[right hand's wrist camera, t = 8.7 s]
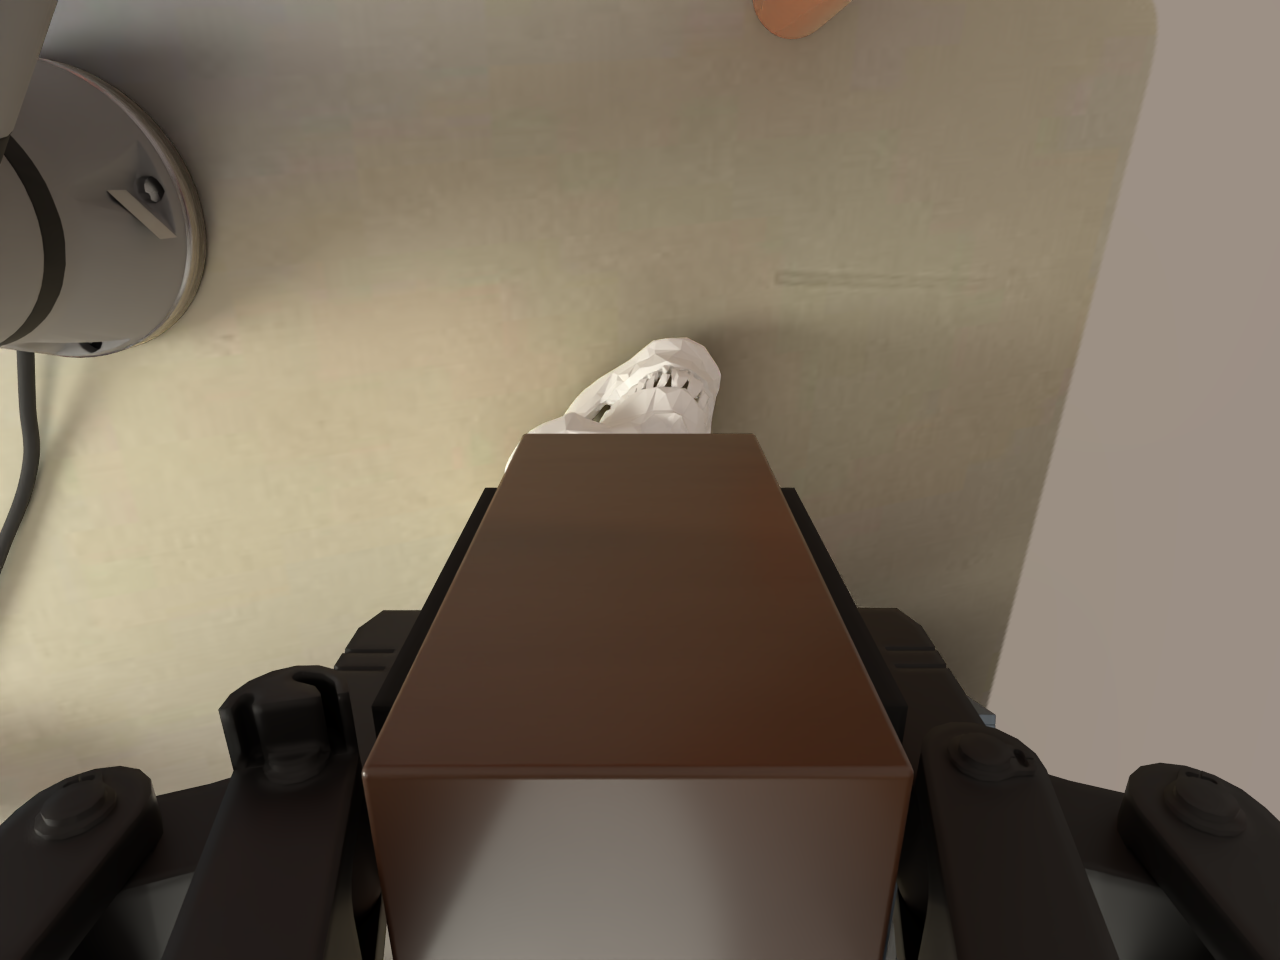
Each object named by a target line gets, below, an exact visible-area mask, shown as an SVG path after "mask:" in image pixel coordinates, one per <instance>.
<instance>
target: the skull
mask: <svg viewBox="0 0 1280 960" xmlns="http://www.w3.org/2000/svg"><path fill="white" fill-rule="evenodd" d="M670 375H672V381H671V387H665V385H666V383H667V381H668V379H669V377H670ZM660 377H661V378H660ZM657 378H660V380H659V382H658V384H657V387H654V388H653V385H654V382H655V381H657ZM687 380H688V383H689V384H688V387H687V389H686V388H682V387H683V386H684V384H685V383H686V382H687ZM720 380H721V373H720V371H719V368H718V366H717V364H716V363H715V361H714V360H713V358H712V357H711V355H710V354H709V352H708V351H707V349H706V348H705V346H703V345H701V344H699V343H697V342H695V341H693V340H691V339H689V338H687V337H679V338H664V339H657V340H653V341H652V342H650V343H649V344H648V345H647V346H646V347H644V348H643V349H642V350H641V351H640V352H638V353H637V354H636V355H635V356H634V357H632V358H631V359H630V360H628V361H627V362H625V363H623V364H622V365H620V366H618V367H617V368H615V369H613V370H612V371H610V372H608V373H607V374H605V375H603V376H602V377H600V378H599V379H597V380H596V381H595V382H594V383H592V384H591V385H590V386H588V387H587V388H586V389H584V390H583V391H582V392H581V393H580V394H579V395H578V397H577V398H576V399H575V400H574V401H573V403H572V404H571V405H570V407H569V408H568V410H567V411H566V413H565V414H564V416H561V417H559V418H556V419H553V420H550V421H547V422H544V423H542V424H540V425H539V426H537V427H535V428H533V429H532V430H530V431H529V432H528V433H527V434H711V422H712V415H713V410H714V406H715V401H716V396H717V394H718V391H719V387H720ZM694 398H695V400H694ZM605 405H610V406H611V409H609V410H607V411H606V412H605V413H604V415H603V417H602V418H601V420H600V422H596V421H593V418H594V417H595V416H596V415H597V414H598V413H599V412H600V410H601V409H602V408H603V407H604V406H605ZM518 445H519V443H518ZM518 445H517V446H516V448H515V449H514V451H513V453H512V454H511V456H510V457H509V459H508V462H507V465H506V468H505V472H506V469H507V467H508V465H509V463H510V461H511V459H512V457H513V455H514V453H515V451H516V449H517V447H518Z"/></svg>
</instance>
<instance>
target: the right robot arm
mask: <svg viewBox="0 0 1280 960" xmlns="http://www.w3.org/2000/svg"><path fill="white" fill-rule="evenodd" d="M57 2H58V0H0V348H4V349H11V350H17V370H18V394H19V411H20V420H21V427H22V434H23V446H24V453H23V463H22V470H21V475H20V479H19V484H18V487H17V491H16V494H15V497H14V500H13V503H12V506H11V508H10V511H9V513H8V516H7V518H6V521H5V523H4V526H3V528H2V530H1V533H0V573H1V571H2V568H3V565H4V563H5V560H6V557H7V555H8V552H9V549H10V547H11V544H12V542H13V540H14V537H15V535H16V532H17V530H18V528H19V525H20V523H21V521H22V518H23V516H24V513H25V511H26V508H27V506H28V503H29V500H30V497H31V494H32V491H33V487H34V484H35V480H36V475H37V470H38V464H39V456H40V440H39V430H38V422H37V412H36V390H35V355H34V353H42V354H50V355H56V356H63V357H77V358H83V357H96V356H103V355H108V354H112V353H115V352H119V351H122V350H125V349H128V348H131V347H134V346H137V345H140V344H143V343H145V342H148V341H150V340H152V339H154V338H155V337H157V336H159V335H161V334H162V333H163V332H165V331H166V330H168V329H169V328H170V327H171V326H172V325H173V324H175V323H176V322H177V321H178V320H179V318H180V317H181V316H182V315H183V314H184V313H185V311H186V310H187V308H188V307H189V305H190V304H191V302H192V300H193V298H194V296H195V294H196V292H197V290H198V287H199V284H200V282H201V278H202V274H203V270H204V264H205V257H206V231H205V223H204V217H203V212H202V208H201V204H200V200H199V197H198V194H197V191H196V188H195V185H194V183H193V181H192V178H191V176H190V174H189V171H188V170H187V168H186V166H185V164H184V162H183V160H182V158H181V157H180V155H179V153H178V152H177V150H176V149H175V147H174V146H173V144H172V143H171V141H170V140H169V139H168V137H167V136H166V135H165V133H164V132H163V131H162V129H161V128H160V127H159V126H158V125H157V124H156V123H155V122H154V121H153V119H152V118H151V117H150V116H149V115H148V114H147V113H146V112H145V111H144V110H143V109H142V108H140V107H139V106H138V105H137V104H136V103H135V102H134V101H132V100H131V99H130V98H129V97H127V96H126V95H125V94H124V93H122V92H121V91H119V90H118V89H116V88H115V87H114V86H112V85H110V84H109V83H107V82H105V81H104V80H102V79H100V78H98V77H97V76H94V75H92V74H90V73H88V72H86V71H84V70H82V69H79V68H76V67H74V66H71V65H68V64H65V63H61V62H57V61H53V60H49V59H44V58H40V57H39V54H40V51H41V48H42V45H43V42H44V40H45V37H46V34H47V31H48V28H49V25H50V22H51V19H52V16H53V13H54V10H55V8H56V5H57ZM780 489H781V491H782V493H783V495H784V497H785V499H786V501H787V504H788V506H789V508H790V510H791V512H792V514H793V516H794V518H795V521H796V523H797V525H798V527H799V529H800V531H801V533H802V535H803V537H804V540H805V542H806V544H807V546H808V548H809V550H810V552H811V554H812V556H813V559H814V561H815V563H816V565H817V567H818V569H819V571H820V573H821V575H822V578H823V580H824V582H825V584H826V586H827V588H828V590H829V592H830V594H831V597H832V599H833V601H834V603H835V605H836V607H837V609H838V611H839V613H840V616H841V618H842V620H843V622H844V624H845V626H846V628H847V630H848V632H849V635H850V637H851V639H852V641H853V643H854V645H855V647H856V649H857V651H858V654H859V656H860V658H861V660H862V662H863V664H864V666H865V668H866V670H867V673H868V675H869V677H870V679H871V681H872V683H873V685H874V687H875V689H876V692H877V694H878V696H879V698H880V700H881V702H882V704H883V706H884V708H885V711H886V713H887V715H888V717H889V719H890V721H891V723H892V725H893V727H894V730H895V732H896V734H897V736H898V738H899V740H900V742H901V744H902V746H903V749H904V751H905V753H906V755H907V757H908V759H909V761H910V763H911V765H912V768H913V771H914V777H913V784H912V789H911V795H910V801H909V807H908V813H907V819H906V825H905V831H904V837H903V843H902V849H901V855H900V861H899V866H898V872H897V878H896V882H897V885H898V888H897V893H896V899H895V905H894V911H893V917H892V923H891V929H890V934H889V940H888V946H887V953H886V960H896V955H897V960H1280V821H1279V820H1278V819H1277V818H1276V817H1275V816H1274V815H1272V814H1271V813H1270V812H1269V811H1268V810H1267V809H1266V808H1265V807H1264V806H1263V805H1261V804H1260V803H1259V802H1257V801H1256V800H1255V799H1254V798H1252V797H1251V796H1250V795H1248V794H1247V793H1246V792H1245V791H1243V790H1242V789H1240V788H1238V787H1236V786H1234V785H1232V784H1230V783H1228V782H1227V781H1225V780H1223V779H1221V778H1219V777H1217V776H1215V775H1212V774H1209V773H1207V772H1204V771H1200V770H1198V769H1194V768H1191V767H1188V766H1183V765H1175V764H1166V763H1156V764H1151V765H1145V766H1140V767H1139V768H1138V769H1137V770H1136V771H1135V772H1134V773H1132V774H1131V775H1130V777H1129V780H1128V783H1127V786H1126V790H1125V793H1122V792H1117V791H1112V790H1108V789H1104V788H1099V787H1095V786H1091V785H1086V784H1082V783H1077V782H1073V781H1069V780H1065V779H1062V778H1059V777H1055V776H1052V775H1049V774H1048V773H1047V770H1046V768H1045V767H1044V765H1043V764H1042V762H1041V761H1040V759H1039V758H1038V756H1037V755H1036V753H1034V752H1033V751H1032V750H1031V749H1029V748H1028V747H1027V746H1026V745H1024V744H1023V743H1022V742H1021V741H1019V740H1018V739H1017V738H1014V737H1012V736H1010V735H1008V734H1006V733H1004V732H1002V731H1000V730H998V729H996V728H992V727H988V726H986V725H985V723H984V722H983V720H982V719H981V717H980V716H979V714H978V713H977V711H976V710H975V708H974V706H973V705H972V703H971V702H970V700H969V699H968V697H967V696H966V694H965V693H964V691H963V689H962V688H961V686H960V685H959V683H958V682H957V680H956V679H955V677H954V676H953V674H952V672H951V671H950V669H949V668H946V663H945V662H944V660H943V659H942V657H941V656H940V654H939V652H938V651H935V646H934V645H933V643H932V642H931V640H930V639H929V637H928V635H927V634H926V632H925V631H924V629H923V628H922V626H921V625H919V624H918V623H917V622H915V621H914V620H912V619H911V618H910V617H908V616H907V615H905V614H904V613H903V612H901V611H900V610H899V609H897V608H857V607H856V605H855V603H854V601H853V599H852V597H851V596H850V594H849V592H848V590H847V588H846V586H845V584H844V582H843V580H842V578H841V576H840V574H839V573H838V571H837V569H836V567H835V565H834V563H833V561H832V559H831V557H830V555H829V553H828V551H827V549H826V548H825V546H824V544H823V542H822V540H821V538H820V536H819V534H818V532H817V530H816V528H815V526H814V525H813V523H812V521H811V519H810V517H809V515H808V513H807V511H806V509H805V507H804V505H803V503H802V502H801V500H800V498H799V496H798V494H797V492H796V490H795V488H780ZM496 490H497V488H485V489H484V491H483V493H482V495H481V497H480V499H479V501H478V503H477V504H476V506H475V508H474V510H473V512H472V514H471V516H470V518H469V520H468V522H467V524H466V526H465V527H464V529H463V531H462V533H461V535H460V537H459V539H458V541H457V543H456V545H455V547H454V549H453V550H452V552H451V554H450V556H449V558H448V560H447V562H446V564H445V566H444V568H443V570H442V572H441V573H440V575H439V577H438V579H437V581H436V583H435V585H434V587H433V589H432V591H431V593H430V595H429V596H428V598H427V600H426V602H425V604H424V606H423V608H422V610H383V611H382V612H380V613H379V614H378V615H376V616H375V617H373V618H372V619H371V620H369V621H368V622H367V623H365V624H364V625H362V626H361V627H360V628H358V630H357V632H356V633H355V635H354V636H353V638H352V639H351V641H350V642H349V644H348V645H347V647H346V649H345V653H342V655H341V656H340V658H339V659H338V661H337V663H336V664H335V666H334V669H331V668H327V667H323V666H319V665H311V666H293V667H289V668H284V669H280V670H275V671H272V672H269V673H267V674H265V675H262V676H260V677H258V678H255V679H253V680H251V681H249V682H247V683H246V684H244V685H243V686H241V687H240V688H239V689H237V690H236V691H234V692H233V693H232V694H230V695H229V697H228V698H227V699H226V701H225V702H224V703H223V704H222V706H221V707H220V708H219V714H220V718H221V722H222V726H223V730H224V734H225V738H226V742H227V746H228V750H229V754H230V758H231V762H232V766H233V770H234V771H233V774H232V776H231V778H228V779H225V780H221V781H218V782H215V783H211V784H207V785H203V786H199V787H194V788H190V789H185V790H181V791H176V792H172V793H168V794H163V795H159V796H156V795H155V792H154V788H153V785H152V782H151V779H150V778H149V777H148V776H147V775H145V774H144V773H143V772H142V771H141V770H140V769H134V768H129V767H123V766H116V767H108V768H99V769H93V770H90V771H87V772H84V773H81V774H77V775H75V776H72V777H69V778H66V779H64V780H62V781H60V782H58V783H56V784H55V785H53V786H51V787H49V788H47V789H45V790H43V791H41V792H39V793H38V794H36V795H35V796H34V797H33V798H31V799H30V800H29V801H27V802H26V803H25V804H24V805H22V806H21V807H20V808H18V809H17V810H16V811H15V812H14V813H13V814H12V815H11V816H10V817H9V818H8V819H7V820H5V821H4V822H3V823H2V824H1V825H0V960H383V956H384V946H385V935H386V925H387V920H386V915H385V909H384V903H383V897H382V891H381V886H380V880H379V874H378V868H377V862H376V856H375V851H374V845H373V839H372V833H371V827H370V822H369V816H368V810H367V804H366V798H365V792H364V787H363V781H362V769H363V767H364V764H365V762H366V760H367V758H368V756H369V754H370V752H371V750H372V748H373V746H374V744H375V742H376V739H377V737H378V735H379V733H380V731H381V729H382V727H383V725H384V723H385V721H386V719H387V717H388V715H389V712H390V710H391V708H392V706H393V704H394V702H395V700H396V698H397V696H398V694H399V692H400V690H401V688H402V685H403V683H404V681H405V679H406V677H407V675H408V673H409V671H410V669H411V667H412V665H413V663H414V661H415V658H416V656H417V654H418V652H419V650H420V648H421V646H422V644H423V642H424V640H425V638H426V636H427V634H428V631H429V629H430V627H431V625H432V623H433V621H434V619H435V617H436V615H437V613H438V611H439V609H440V607H441V604H442V602H443V600H444V598H445V596H446V594H447V592H448V590H449V588H450V586H451V584H452V582H453V580H454V577H455V575H456V573H457V571H458V569H459V567H460V565H461V563H462V561H463V559H464V557H465V555H466V553H467V550H468V548H469V546H470V544H471V542H472V540H473V538H474V536H475V534H476V532H477V530H478V528H479V526H480V523H481V521H482V519H483V517H484V515H485V513H486V511H487V509H488V507H489V505H490V503H491V501H492V499H493V496H494V494H495V492H496Z"/></svg>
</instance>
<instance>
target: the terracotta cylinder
mask: <svg viewBox="0 0 1280 960" xmlns="http://www.w3.org/2000/svg"><path fill="white" fill-rule="evenodd" d="M851 1H853V0H753V5H754V9H755V12H756V14H757V16H758V18H759V20H760V21H761V23H762V24H763V25H764V26H765V28H767V29H768V30H769V31H770V32H772V33H773V34H775V35H777V36H779V37H782V38H787V39H798V38H802V37H805V36H808V35H810V34H812V33H814V32H815V31H817V30H818V29H819V28H820V27H821V26H823V25H824V24H825V23H826V22H827V21H829V20H830V19H831V18H832V17H833V16H835V15H836V14H837V13H838V12H839V11H841V10H842V9H843V8H844V7H845V6H847V5H848V4H849V3H850V2H851Z"/></svg>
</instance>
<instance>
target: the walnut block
mask: <svg viewBox="0 0 1280 960" xmlns="http://www.w3.org/2000/svg"><path fill="white" fill-rule="evenodd" d="M913 777H914V771H913V768H912V765H911V763H910V761H909V759H908V757H907V755H906V753H905V751H904V749H903V746H902V744H901V742H900V740H899V738H898V736H897V734H896V732H895V730H894V727H893V725H892V723H891V721H890V719H889V717H888V715H887V713H886V711H885V708H884V706H883V704H882V702H881V700H880V698H879V696H878V694H877V692H876V689H875V687H874V685H873V683H872V681H871V679H870V677H869V675H868V673H867V670H866V668H865V666H864V664H863V662H862V660H861V658H860V656H859V654H858V651H857V649H856V647H855V645H854V643H853V641H852V639H851V637H850V635H849V632H848V630H847V628H846V626H845V624H844V622H843V620H842V618H841V616H840V613H839V611H838V609H837V607H836V605H835V603H834V601H833V599H832V597H831V594H830V592H829V590H828V588H827V586H826V584H825V582H824V580H823V578H822V575H821V573H820V571H819V569H818V567H817V565H816V563H815V561H814V559H813V556H812V554H811V552H810V550H809V548H808V546H807V544H806V542H805V540H804V537H803V535H802V533H801V531H800V529H799V527H798V525H797V523H796V521H795V518H794V516H793V514H792V512H791V510H790V508H789V506H788V504H787V501H786V499H785V497H784V495H783V493H782V491H781V489H780V487H779V485H778V482H777V480H776V478H775V476H774V474H773V472H772V470H771V468H770V466H769V463H768V461H767V459H766V457H765V455H764V453H763V451H762V449H761V447H760V444H759V442H758V440H757V438H756V436H755V435H754V434H524V435H523V436H522V438H521V440H520V442H519V445H518V447H517V449H516V451H515V453H514V455H513V457H512V459H511V461H510V463H509V465H508V467H507V469H506V472H505V474H504V476H503V478H502V480H501V482H500V484H499V486H498V488H497V490H496V492H495V494H494V496H493V499H492V501H491V503H490V505H489V507H488V509H487V511H486V513H485V515H484V517H483V519H482V521H481V523H480V526H479V528H478V530H477V532H476V534H475V536H474V538H473V540H472V542H471V544H470V546H469V548H468V550H467V553H466V555H465V557H464V559H463V561H462V563H461V565H460V567H459V569H458V571H457V573H456V575H455V577H454V580H453V582H452V584H451V586H450V588H449V590H448V592H447V594H446V596H445V598H444V600H443V602H442V604H441V607H440V609H439V611H438V613H437V615H436V617H435V619H434V621H433V623H432V625H431V627H430V629H429V631H428V634H427V636H426V638H425V640H424V642H423V644H422V646H421V648H420V650H419V652H418V654H417V656H416V658H415V661H414V663H413V665H412V667H411V669H410V671H409V673H408V675H407V677H406V679H405V681H404V683H403V685H402V688H401V690H400V692H399V694H398V696H397V698H396V700H395V702H394V704H393V706H392V708H391V710H390V712H389V715H388V717H387V719H386V721H385V723H384V725H383V727H382V729H381V731H380V733H379V735H378V737H377V739H376V742H375V744H374V746H373V748H372V750H371V752H370V754H369V756H368V758H367V760H366V762H365V764H364V767H363V769H362V781H363V787H364V792H365V798H366V804H367V810H368V816H369V822H370V827H371V833H372V839H373V845H374V851H375V856H376V862H377V868H378V874H379V880H380V886H381V891H382V897H383V903H384V909H385V915H386V920H387V926H388V932H389V938H390V944H391V950H392V955H393V960H883V955H884V949H885V943H886V938H887V932H888V926H889V920H890V914H891V908H892V902H893V896H894V890H895V884H896V878H897V872H898V866H899V861H900V855H901V849H902V843H903V837H904V831H905V825H906V819H907V813H908V807H909V801H910V795H911V789H912V784H913Z"/></svg>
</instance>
